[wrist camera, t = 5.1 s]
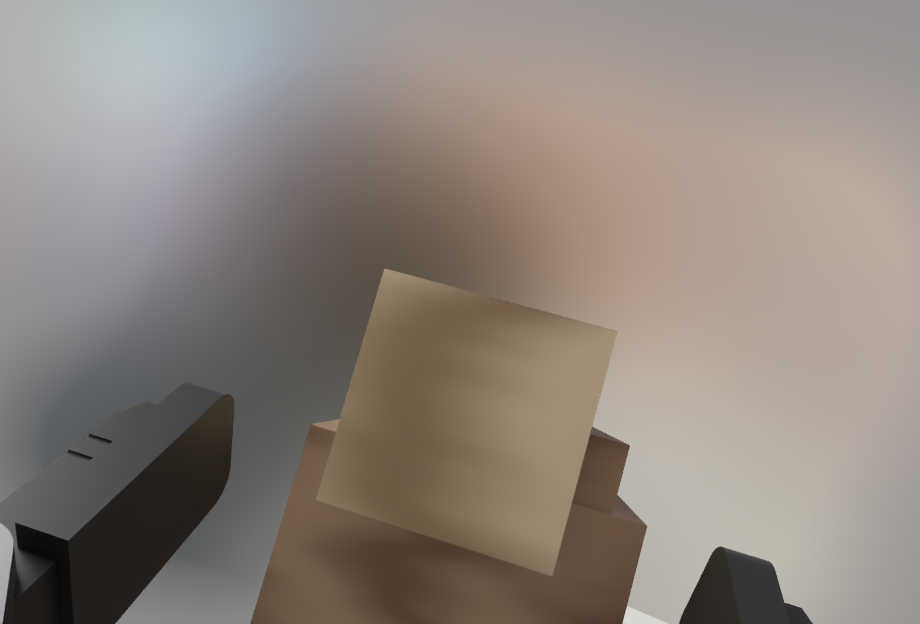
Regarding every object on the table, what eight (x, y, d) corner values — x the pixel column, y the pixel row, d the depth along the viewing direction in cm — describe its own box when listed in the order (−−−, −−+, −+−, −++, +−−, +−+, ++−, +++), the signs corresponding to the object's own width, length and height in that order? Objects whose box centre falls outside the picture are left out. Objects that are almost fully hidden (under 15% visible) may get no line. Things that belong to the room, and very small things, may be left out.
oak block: (315, 500, 11) (384, 269, 12) (466, 426, 36) (487, 354, 36) (551, 576, 11) (617, 331, 11) (540, 448, 35) (560, 374, 36)
